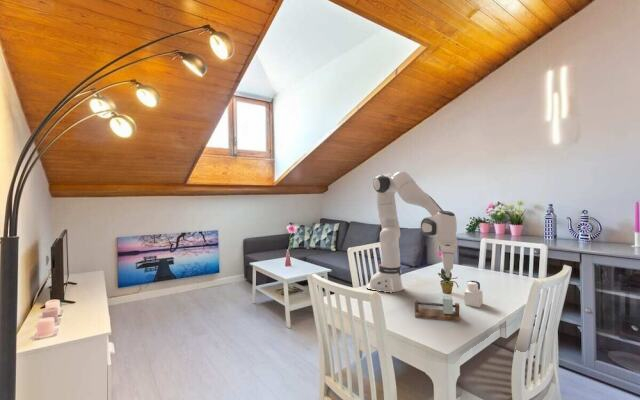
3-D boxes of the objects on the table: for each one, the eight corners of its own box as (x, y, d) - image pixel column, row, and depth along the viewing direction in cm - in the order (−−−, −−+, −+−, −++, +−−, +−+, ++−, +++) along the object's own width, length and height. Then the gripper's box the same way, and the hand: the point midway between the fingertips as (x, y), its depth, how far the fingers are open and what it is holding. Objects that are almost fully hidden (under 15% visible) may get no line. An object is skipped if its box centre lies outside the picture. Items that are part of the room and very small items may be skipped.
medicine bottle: (468, 300, 168) (467, 278, 167) (482, 303, 163) (482, 281, 163) (464, 304, 162) (464, 282, 162) (479, 307, 158) (479, 284, 157)
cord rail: (414, 317, 149) (414, 303, 149) (415, 310, 157) (415, 298, 157) (460, 321, 143) (459, 307, 143) (458, 314, 150) (458, 301, 150)
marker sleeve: (443, 313, 146) (443, 298, 146) (442, 309, 151) (442, 295, 151) (452, 314, 145) (452, 299, 145) (451, 310, 150) (451, 295, 150)
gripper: (438, 241, 158) (438, 268, 158) (440, 249, 138) (441, 279, 139) (452, 241, 156) (452, 268, 156) (456, 249, 136) (456, 280, 137)
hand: (447, 274), depth 147 cm, fingers open, 8 cm apart
